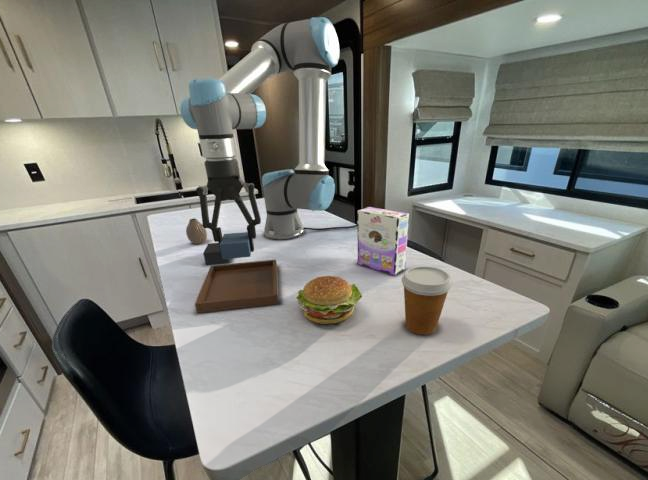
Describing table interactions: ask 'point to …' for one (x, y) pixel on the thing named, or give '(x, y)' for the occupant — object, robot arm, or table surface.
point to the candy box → (382, 239)
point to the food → (328, 299)
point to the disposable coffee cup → (424, 297)
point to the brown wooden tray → (239, 286)
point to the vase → (196, 232)
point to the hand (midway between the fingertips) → (237, 251)
